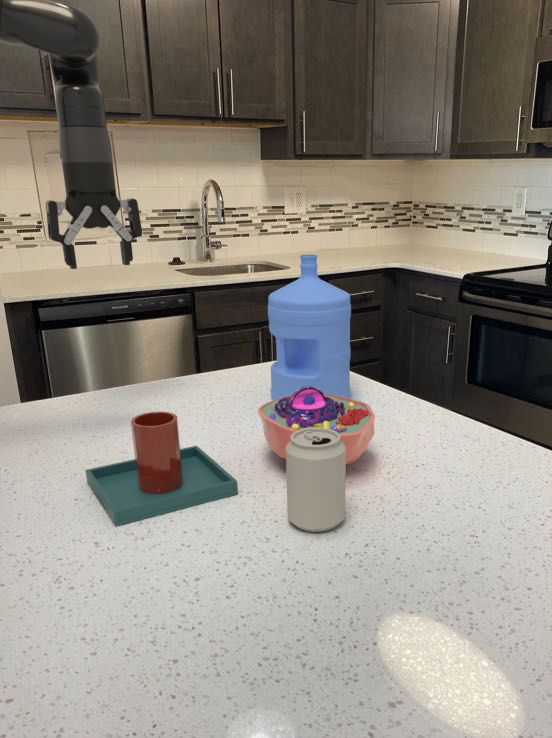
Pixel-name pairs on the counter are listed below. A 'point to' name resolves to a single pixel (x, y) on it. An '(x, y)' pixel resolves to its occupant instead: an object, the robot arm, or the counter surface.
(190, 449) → the rectangular tray
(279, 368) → the water jug
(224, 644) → the counter surface
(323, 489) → the can
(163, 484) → the cup
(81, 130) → the robot arm
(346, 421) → the cell model
